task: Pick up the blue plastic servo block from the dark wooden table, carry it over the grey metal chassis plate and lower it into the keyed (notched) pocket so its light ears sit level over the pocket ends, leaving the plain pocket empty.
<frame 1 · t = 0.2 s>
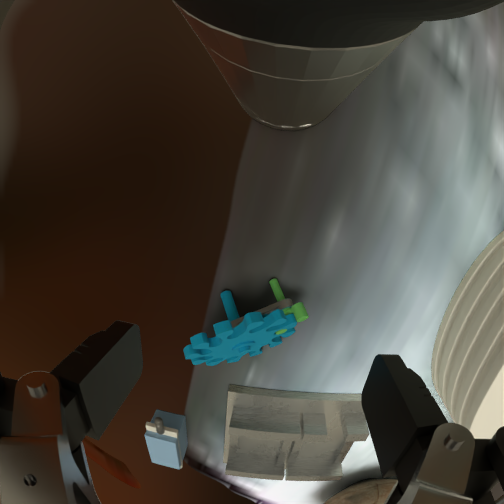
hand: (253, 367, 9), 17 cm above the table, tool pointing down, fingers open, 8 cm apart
gear: (250, 316, 28), on the table
cooking pot: (363, 486, 36), on the table
servo block: (172, 427, 34), on the table
chassis plate: (291, 433, 32), on the table
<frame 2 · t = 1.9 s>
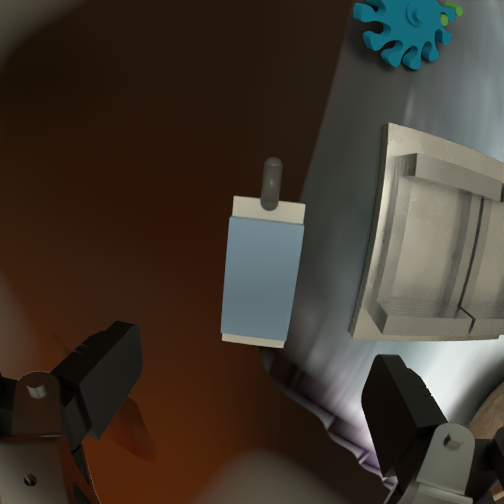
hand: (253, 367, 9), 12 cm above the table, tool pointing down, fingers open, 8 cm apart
gear: (397, 31, 16), on the table
cooking pot: (497, 397, 23), on the table
servo block: (263, 260, 21), on the table
chassis plate: (458, 247, 19), on the table
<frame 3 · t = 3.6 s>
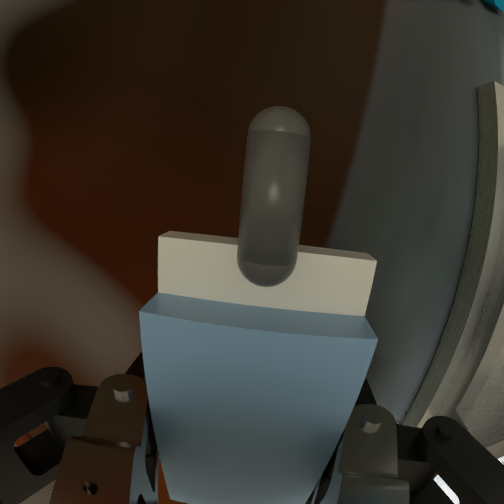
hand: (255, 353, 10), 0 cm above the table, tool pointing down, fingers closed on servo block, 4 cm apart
servo block: (256, 347, 10), on the table, touching gripper
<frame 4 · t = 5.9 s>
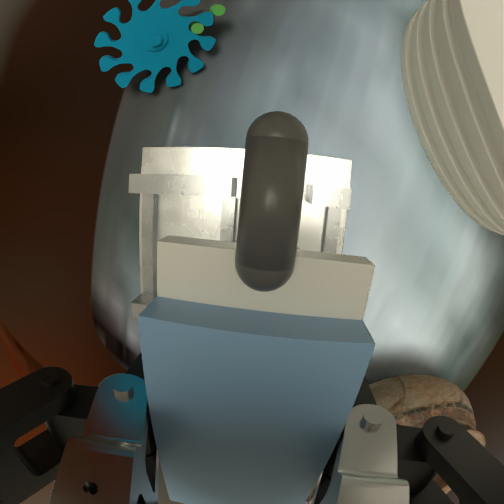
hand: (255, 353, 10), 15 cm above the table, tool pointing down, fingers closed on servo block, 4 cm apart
gear: (175, 52, 21), on the table
cooking pot: (374, 410, 28), on the table
plate stack: (503, 109, 19), on the table
servo block: (255, 349, 10), point 15 cm above the table, touching gripper
chassis plate: (237, 246, 25), on the table
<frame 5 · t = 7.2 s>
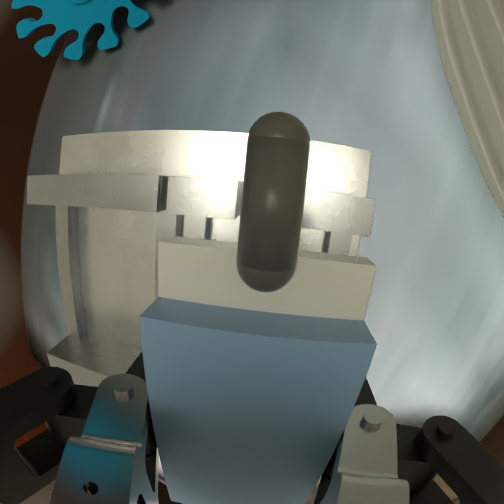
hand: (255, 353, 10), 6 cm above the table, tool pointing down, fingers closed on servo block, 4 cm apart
gear: (120, 8, 13), on the table
cooking pot: (373, 471, 20), on the table
servo block: (256, 349, 10), point 6 cm above the table, touching gripper
chassis plate: (189, 281, 16), on the table
when the fingers open (3 cm above the table, at t = 8.2 s): servo block drops 1 cm, resting on chassis plate.
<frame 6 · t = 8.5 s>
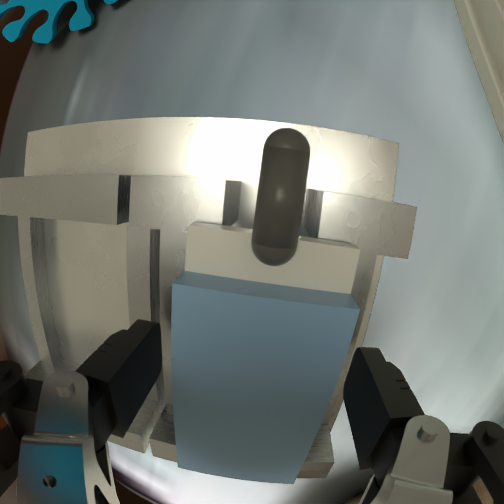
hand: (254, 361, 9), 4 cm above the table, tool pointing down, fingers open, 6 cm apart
cooking pot: (381, 496, 17), on the table
servo block: (258, 329, 12), point 1 cm above the table, touching chassis plate
chassis plate: (173, 303, 13), on the table
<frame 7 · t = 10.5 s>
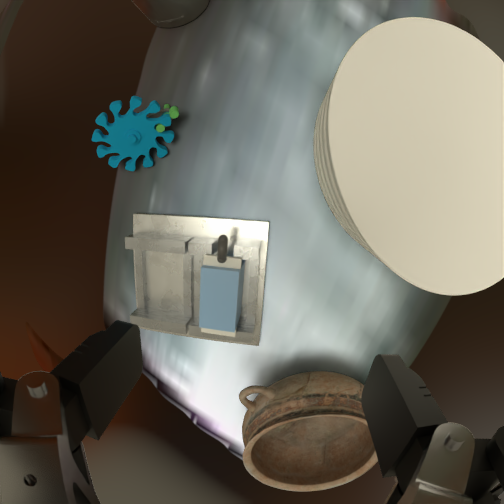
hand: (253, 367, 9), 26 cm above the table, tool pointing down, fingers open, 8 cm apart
gear: (150, 137, 34), on the table
casserole: (479, 501, 49), on the table
cooking pot: (310, 398, 40), on the table
plate stack: (419, 156, 31), on the table
servo block: (226, 285, 35), point 1 cm above the table, touching chassis plate
chassis plate: (197, 278, 37), on the table
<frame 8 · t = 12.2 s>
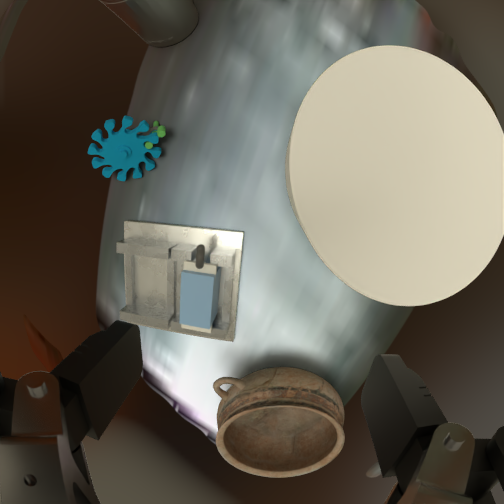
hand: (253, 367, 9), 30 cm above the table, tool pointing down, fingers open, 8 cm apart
gear: (140, 150, 37), on the table
cooking pot: (280, 392, 45), on the table
plate stack: (386, 174, 36), on the table
servo block: (205, 287, 40), point 1 cm above the table, touching chassis plate
chassis plate: (180, 280, 41), on the table
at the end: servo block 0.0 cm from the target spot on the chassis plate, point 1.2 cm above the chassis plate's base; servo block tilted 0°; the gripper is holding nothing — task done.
